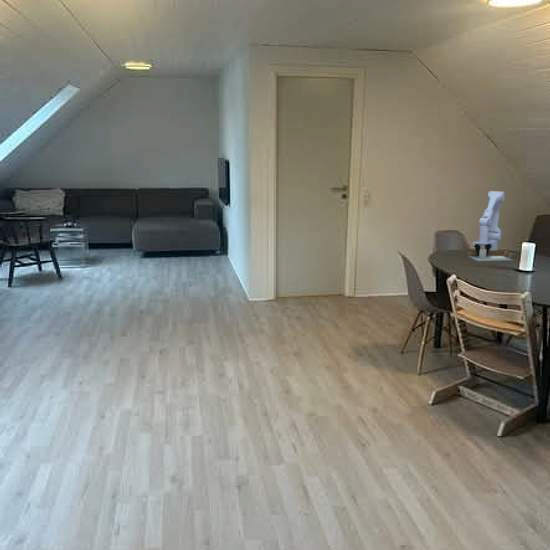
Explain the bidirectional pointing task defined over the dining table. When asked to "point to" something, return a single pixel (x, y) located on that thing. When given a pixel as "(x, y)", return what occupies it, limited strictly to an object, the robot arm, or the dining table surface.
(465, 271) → the dining table surface
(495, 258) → the mat
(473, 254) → the walls
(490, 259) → the bracket
